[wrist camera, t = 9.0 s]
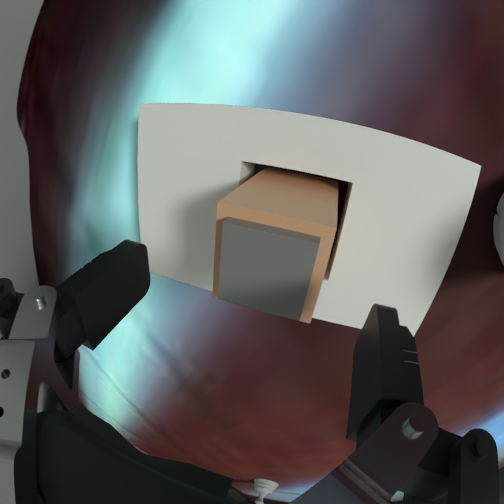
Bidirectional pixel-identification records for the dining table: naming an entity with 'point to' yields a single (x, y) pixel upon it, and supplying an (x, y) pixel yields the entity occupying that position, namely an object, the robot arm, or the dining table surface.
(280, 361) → the dining table surface
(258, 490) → the chalice
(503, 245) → the mug
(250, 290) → the plug
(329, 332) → the dining table surface
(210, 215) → the socket plate
